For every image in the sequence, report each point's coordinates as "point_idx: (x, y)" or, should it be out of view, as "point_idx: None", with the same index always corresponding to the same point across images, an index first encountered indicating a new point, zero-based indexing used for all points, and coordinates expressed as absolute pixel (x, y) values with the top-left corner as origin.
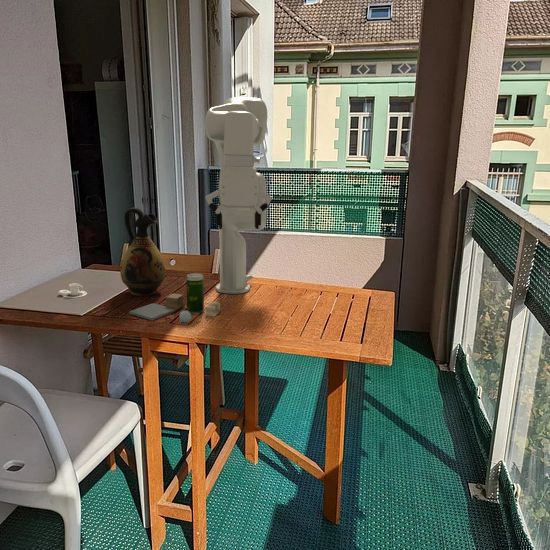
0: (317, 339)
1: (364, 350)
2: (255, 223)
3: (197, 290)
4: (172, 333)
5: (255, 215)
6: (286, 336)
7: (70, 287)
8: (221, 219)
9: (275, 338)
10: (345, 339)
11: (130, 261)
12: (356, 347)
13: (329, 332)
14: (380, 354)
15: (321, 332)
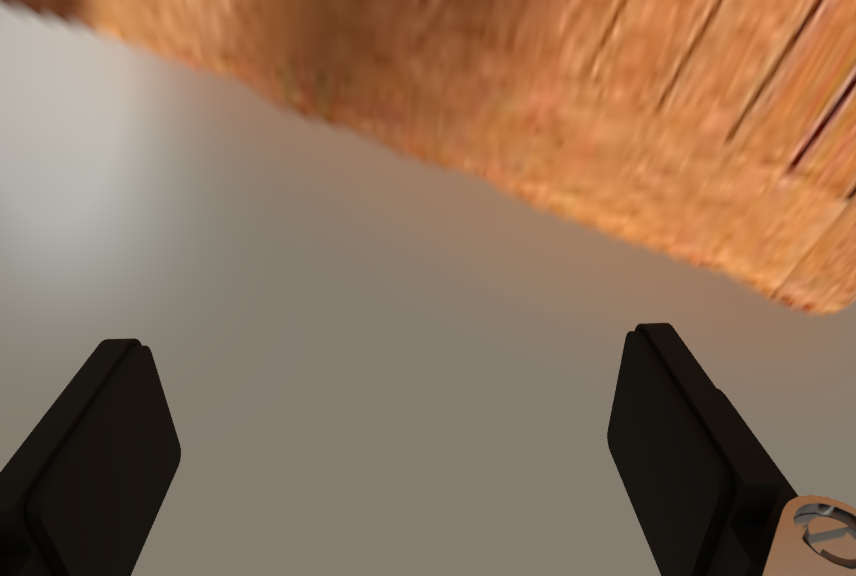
0: (711, 147)
1: (820, 253)
2: (633, 446)
3: None
4: (99, 21)
5: (683, 534)
6: (601, 105)
7: None
8: (126, 562)
9: (550, 122)
10: (816, 157)
11: None
12: (809, 228)
13: (798, 77)
14: (849, 284)
15: (764, 74)
